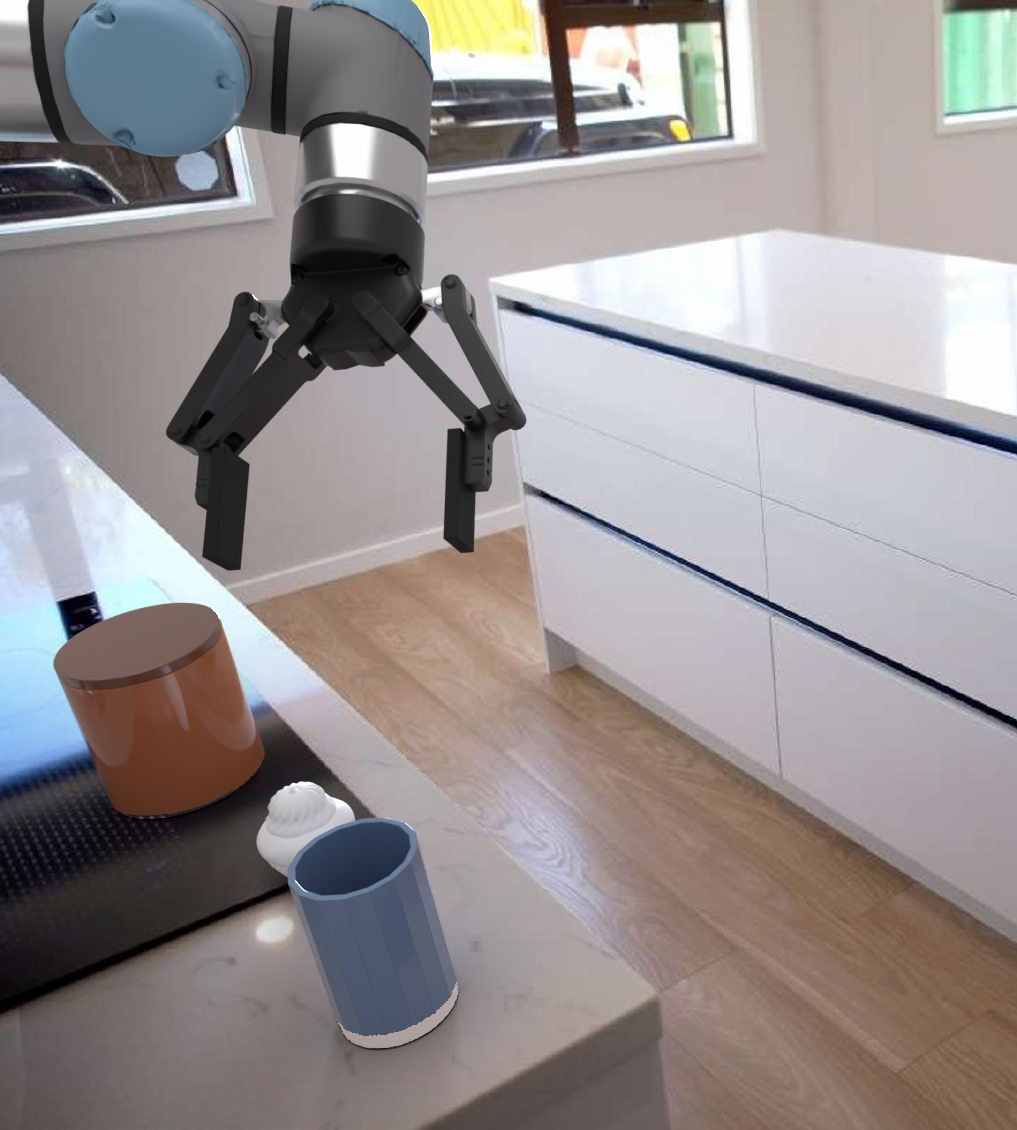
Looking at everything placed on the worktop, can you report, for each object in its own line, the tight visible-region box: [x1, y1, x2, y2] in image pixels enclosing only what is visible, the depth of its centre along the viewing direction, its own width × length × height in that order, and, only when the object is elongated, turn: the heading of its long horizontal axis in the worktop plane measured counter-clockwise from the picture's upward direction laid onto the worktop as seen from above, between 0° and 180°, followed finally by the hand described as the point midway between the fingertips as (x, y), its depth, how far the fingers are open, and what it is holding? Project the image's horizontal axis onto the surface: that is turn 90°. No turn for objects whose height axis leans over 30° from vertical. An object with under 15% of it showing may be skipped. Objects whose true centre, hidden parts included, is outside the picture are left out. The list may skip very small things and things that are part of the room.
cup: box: [287, 816, 458, 1036], centre depth 73 cm, size 7×7×11 cm
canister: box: [52, 602, 266, 816], centre depth 95 cm, size 11×11×12 cm
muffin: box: [256, 781, 356, 878], centre depth 85 cm, size 6×6×7 cm
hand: (339, 555), depth 72 cm, fingers open, 13 cm apart
